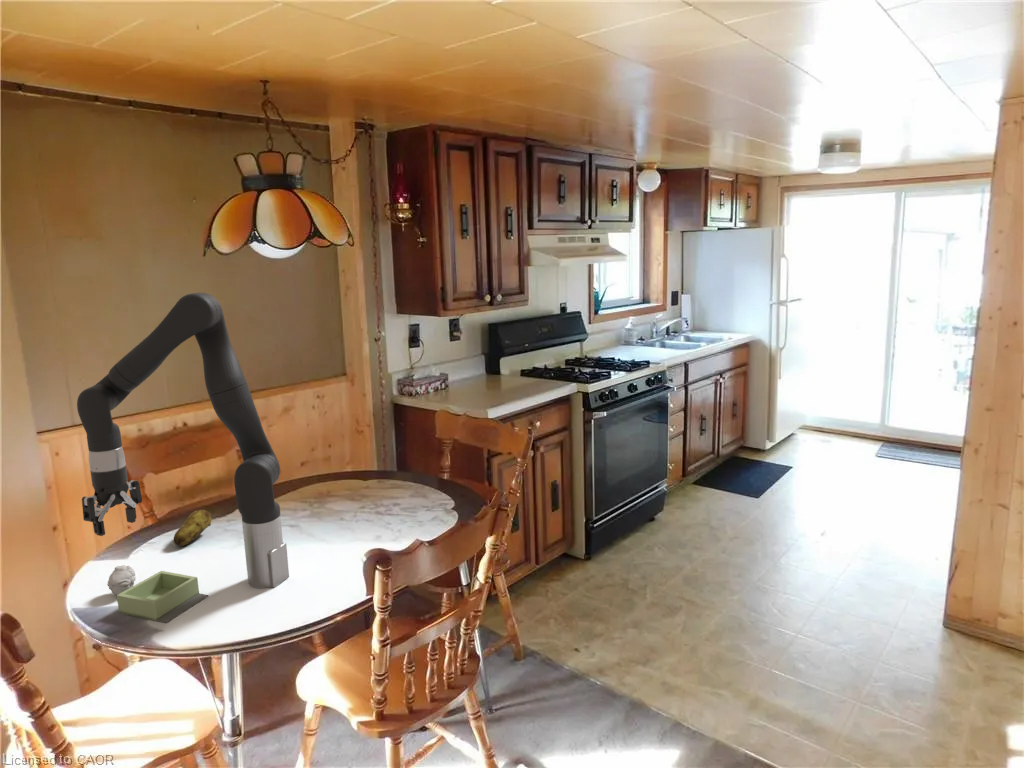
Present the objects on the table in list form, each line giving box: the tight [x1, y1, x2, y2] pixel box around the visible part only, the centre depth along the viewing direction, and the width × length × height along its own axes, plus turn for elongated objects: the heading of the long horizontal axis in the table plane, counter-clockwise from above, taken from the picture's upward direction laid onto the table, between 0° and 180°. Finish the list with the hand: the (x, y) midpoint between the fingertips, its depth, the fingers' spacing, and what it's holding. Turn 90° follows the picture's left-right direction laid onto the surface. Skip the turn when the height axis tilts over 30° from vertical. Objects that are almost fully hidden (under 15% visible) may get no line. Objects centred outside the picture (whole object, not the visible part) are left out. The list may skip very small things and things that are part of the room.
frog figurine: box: [107, 564, 137, 596], centre depth 169 cm, size 6×7×7 cm
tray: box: [116, 570, 209, 624], centre depth 164 cm, size 14×13×5 cm
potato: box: [173, 509, 213, 547], centre depth 200 cm, size 8×13×8 cm, turn 145°
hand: (116, 528), depth 168 cm, fingers open, 8 cm apart
